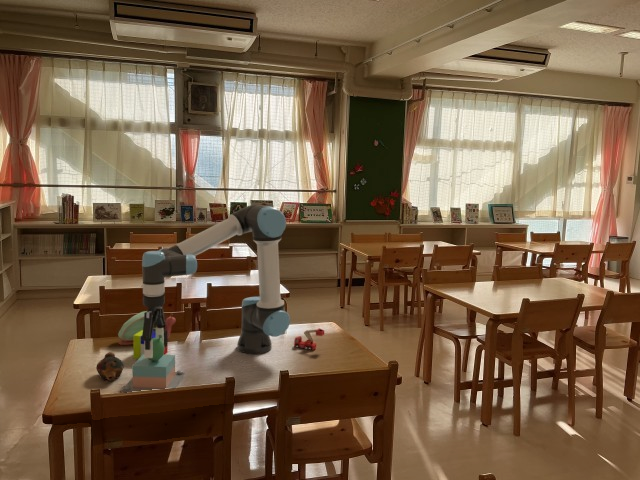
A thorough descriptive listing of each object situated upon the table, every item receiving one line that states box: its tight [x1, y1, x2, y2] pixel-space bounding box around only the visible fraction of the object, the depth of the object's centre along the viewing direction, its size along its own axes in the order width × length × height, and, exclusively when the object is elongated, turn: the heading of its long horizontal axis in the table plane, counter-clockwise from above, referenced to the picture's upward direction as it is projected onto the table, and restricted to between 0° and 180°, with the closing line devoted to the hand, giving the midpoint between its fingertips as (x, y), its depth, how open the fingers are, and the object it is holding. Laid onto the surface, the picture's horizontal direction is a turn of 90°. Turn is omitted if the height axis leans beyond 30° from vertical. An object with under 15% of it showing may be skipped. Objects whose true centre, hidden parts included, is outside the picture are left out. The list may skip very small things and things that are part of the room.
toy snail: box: [117, 310, 177, 346], centre depth 239 cm, size 25×8×14 cm, turn 116°
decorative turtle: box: [96, 351, 125, 381], centre depth 199 cm, size 10×15×8 cm, turn 28°
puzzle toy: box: [132, 329, 169, 360], centre depth 222 cm, size 10×10×10 cm
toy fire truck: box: [293, 328, 325, 351], centre depth 237 cm, size 3×14×10 cm, turn 68°
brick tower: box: [120, 354, 186, 392], centre depth 195 cm, size 18×18×9 cm
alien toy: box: [148, 335, 165, 361], centre depth 194 cm, size 7×8×10 cm
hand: (154, 351), depth 194 cm, fingers open, 12 cm apart
